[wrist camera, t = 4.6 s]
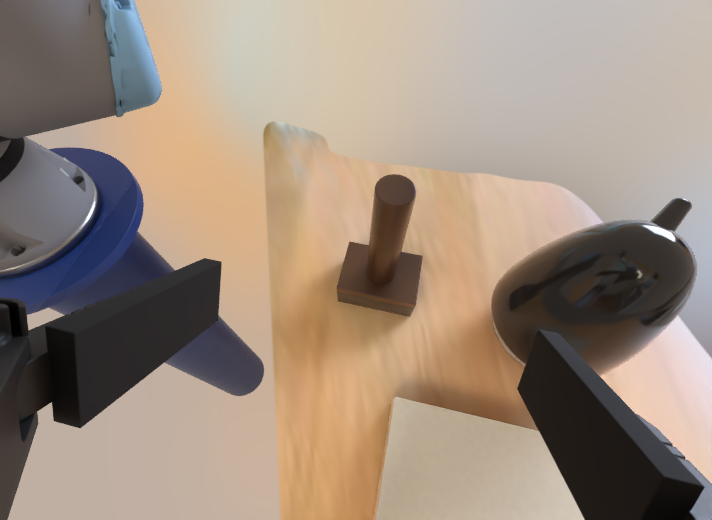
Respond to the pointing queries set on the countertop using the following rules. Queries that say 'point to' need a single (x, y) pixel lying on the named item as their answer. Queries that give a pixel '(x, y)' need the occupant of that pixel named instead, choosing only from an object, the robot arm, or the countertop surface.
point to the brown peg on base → (384, 254)
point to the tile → (466, 469)
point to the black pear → (599, 289)
